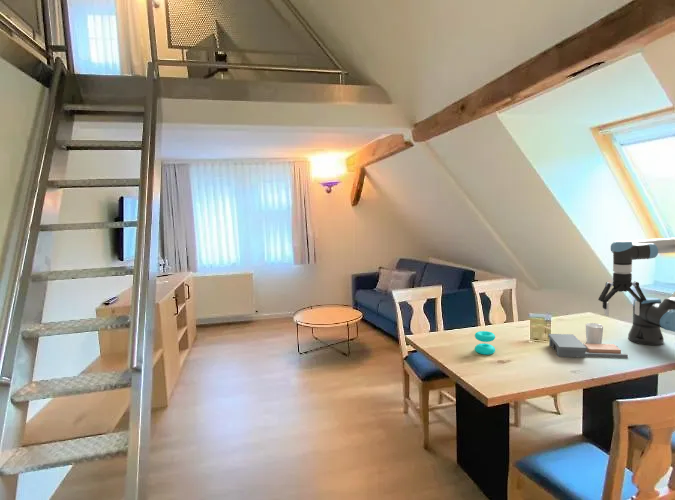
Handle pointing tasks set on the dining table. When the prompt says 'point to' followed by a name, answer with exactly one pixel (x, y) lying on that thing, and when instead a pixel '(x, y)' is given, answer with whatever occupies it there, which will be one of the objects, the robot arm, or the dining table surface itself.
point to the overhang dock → (574, 347)
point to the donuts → (483, 347)
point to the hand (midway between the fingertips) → (621, 314)
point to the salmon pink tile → (602, 348)
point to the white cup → (594, 333)
